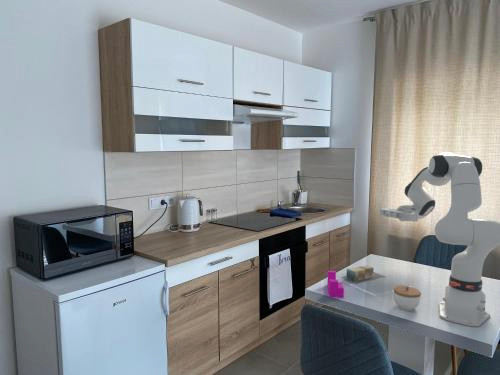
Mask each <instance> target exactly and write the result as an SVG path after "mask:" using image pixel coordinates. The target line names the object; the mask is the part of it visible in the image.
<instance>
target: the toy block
mask: <svg viewBox="0 0 500 375" xmlns="http://www.w3.org/2000/svg"><path fill="white" fill-rule="evenodd" d="M326 284H327V285H326V286H327V290H328V294H329V295H328V296H329V297H330V298H344V297H345V296H344V295H345V294H344V292H345V287H344V285H343V284H342V282H339V279H337V271H335V270H327V283H326Z"/></svg>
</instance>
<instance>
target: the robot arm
mask: <svg viewBox="0 0 500 375" xmlns="http://www.w3.org/2000/svg"><path fill="white" fill-rule="evenodd" d="M428 163H429V164H428V166H426V167H424V168H422V169H421V170H420V171H419V172H418V173H417V174H416V176H415V177H414V178H413V179H412V180H411V182H409V183H408V184H407V185H406V186H405V188H404V196H406V197H407V198H408V199H409V200H410V202H411V203H412V204H406V205H405V204H404V205H399V206H398V207H397V209H395V208H387V207H386V208H380V209H379V215H380V216H383V217H387V218H393V219H398V220H399V221H400V222H414V223H416V222H418V221H419V220H421V219H424V218H426V217H427V216H428V215H429V214H431V212H433V211H434V209H435V207H436V200H435V199H434V198H433V196H431V194H430V193H429V192H428V191H427V190H426V188H425V187H424V185H423V183H424V182H426V183H428V184H430V185H431V186H434V187H435V186H437V187H442V186H445V185H447V184H448V183H449V182H450V195H451V196H450V200H451V201H450V203H451V204H450V207H449V210H448V211H447V213H446V215H445V216H443V217H442V218H441V219H439V220H438V221H437V223H436V224H435V226H434V235H435V237H436V239H437V240H438V241H439V242H440V243H443V244H449V245H452V246H453V245H454V246H455V245H457V246H467V247H466V248H465V249H464V250H463V251H462V252H458V253H457V254H455V255H454V256H453V257H452V259H451V268H450V270H451V271H450V275H449V278H448V285H446V286H445V290H444V291H445V292H444V293H445V294H444V296H443V297H442V300H443V301H439V302H438V312H439V314H438V315H439V318H441V319H444V320H446V321H448V322H452V323H456V324H458V325H459V324H460V325H463V326H468V327H480V326H481V325H483V323H485V321H486V320H488V318H489V317H491V314H490V312H488V311H486V297H487V296H486V293H484V291H483V285H484V284H483V280H482V274H483V268H484V262H485V260H486V258H487V256H488V255H489V253H491V251H493V250H494V249H495V248H497V247H499V246H500V222H499V221H496V220H490V219H481V218H479V219H478V218H477V219H476V218H468V217H469V216H468V214H469V213H471V212H474V211H475V210H477V209H479V208H480V207H481V205H482V203H483V200H482V189H481V188H482V186H481V180H480V179H481V178H480V176H481V175H482V171H483V162H482V161H481V159H480V158H477V157H476V156H468V155H467V156H466V155H459V154H458V155H457V154H454V153H452V152H450V151H448V152H447V151H445V152H440V153H439V154H436V155H435V154H434V155H433V156H432V157H431V158H430V160H429V162H428Z"/></svg>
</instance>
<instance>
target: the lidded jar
mask: <svg viewBox="0 0 500 375" xmlns="http://www.w3.org/2000/svg"><path fill="white" fill-rule="evenodd" d="M421 296H422V292H421V290H419V289H418V288H415V287H412V286H410V285H409V286H408V285H397V286H394V288H393V298H394V303H395V304H396V305H397V307H398V308H399V309H400V310H403V311H407V312H411V311H414V310H415V309H416V308H418V306H419V305H420V302H421Z"/></svg>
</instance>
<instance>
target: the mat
mask: <svg viewBox="0 0 500 375" xmlns="http://www.w3.org/2000/svg"><path fill="white" fill-rule="evenodd" d="M346 276H347V275H345V276H340V278H341V279H343V280H346V281H348V282H350V283H353V284H356V285H357V284H361V283H366V282H370V281H375V280H379V279H382V278H383V279H384V278H387V276H385V275H383V274H380V273H377V272H376V271H373V277H371V278H367V279H362V280H358V281H351V280H349V279H346Z"/></svg>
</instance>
